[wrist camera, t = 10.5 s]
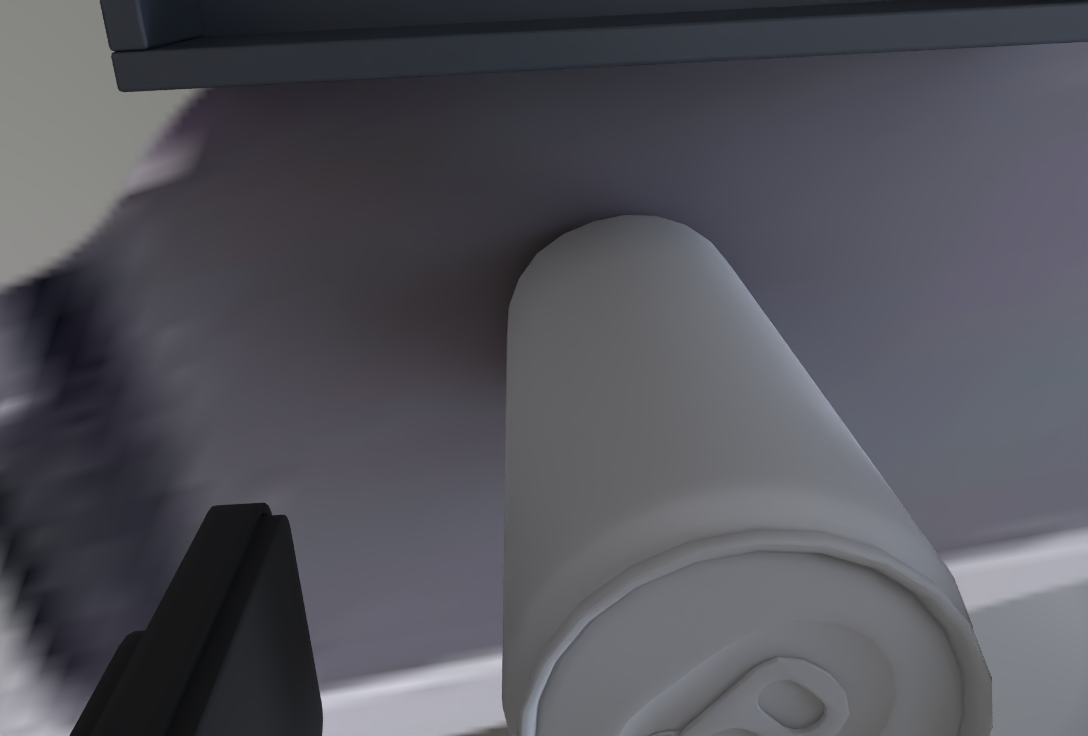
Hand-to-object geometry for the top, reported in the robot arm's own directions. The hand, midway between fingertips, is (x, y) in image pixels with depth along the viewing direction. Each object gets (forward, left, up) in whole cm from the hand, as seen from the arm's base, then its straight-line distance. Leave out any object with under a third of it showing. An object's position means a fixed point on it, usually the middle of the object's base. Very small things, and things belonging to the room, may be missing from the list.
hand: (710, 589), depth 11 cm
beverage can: (0, 0, -10) cm, 10 cm away
